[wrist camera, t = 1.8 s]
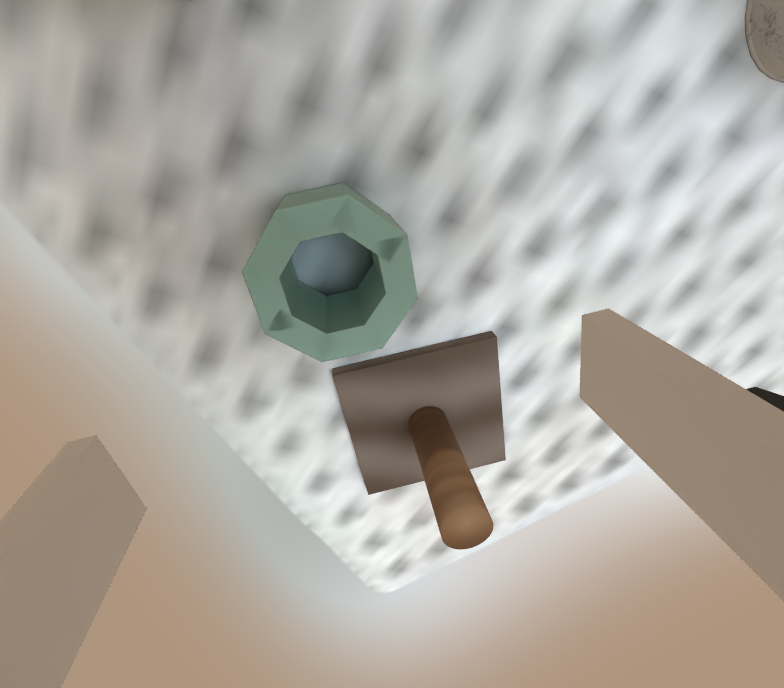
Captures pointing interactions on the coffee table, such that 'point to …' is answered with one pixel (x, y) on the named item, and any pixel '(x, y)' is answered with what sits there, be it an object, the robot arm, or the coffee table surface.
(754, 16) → the beige speckled cylinder
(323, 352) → the collar
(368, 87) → the coffee table surface
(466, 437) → the post stand
